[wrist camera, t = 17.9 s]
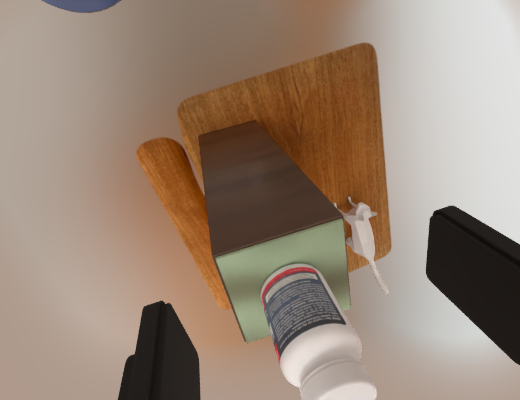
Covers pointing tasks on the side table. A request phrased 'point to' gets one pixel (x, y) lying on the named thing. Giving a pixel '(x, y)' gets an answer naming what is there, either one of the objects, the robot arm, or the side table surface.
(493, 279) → the robot arm
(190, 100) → the side table surface
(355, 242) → the cat figurine
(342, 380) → the pill bottle
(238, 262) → the front stand
